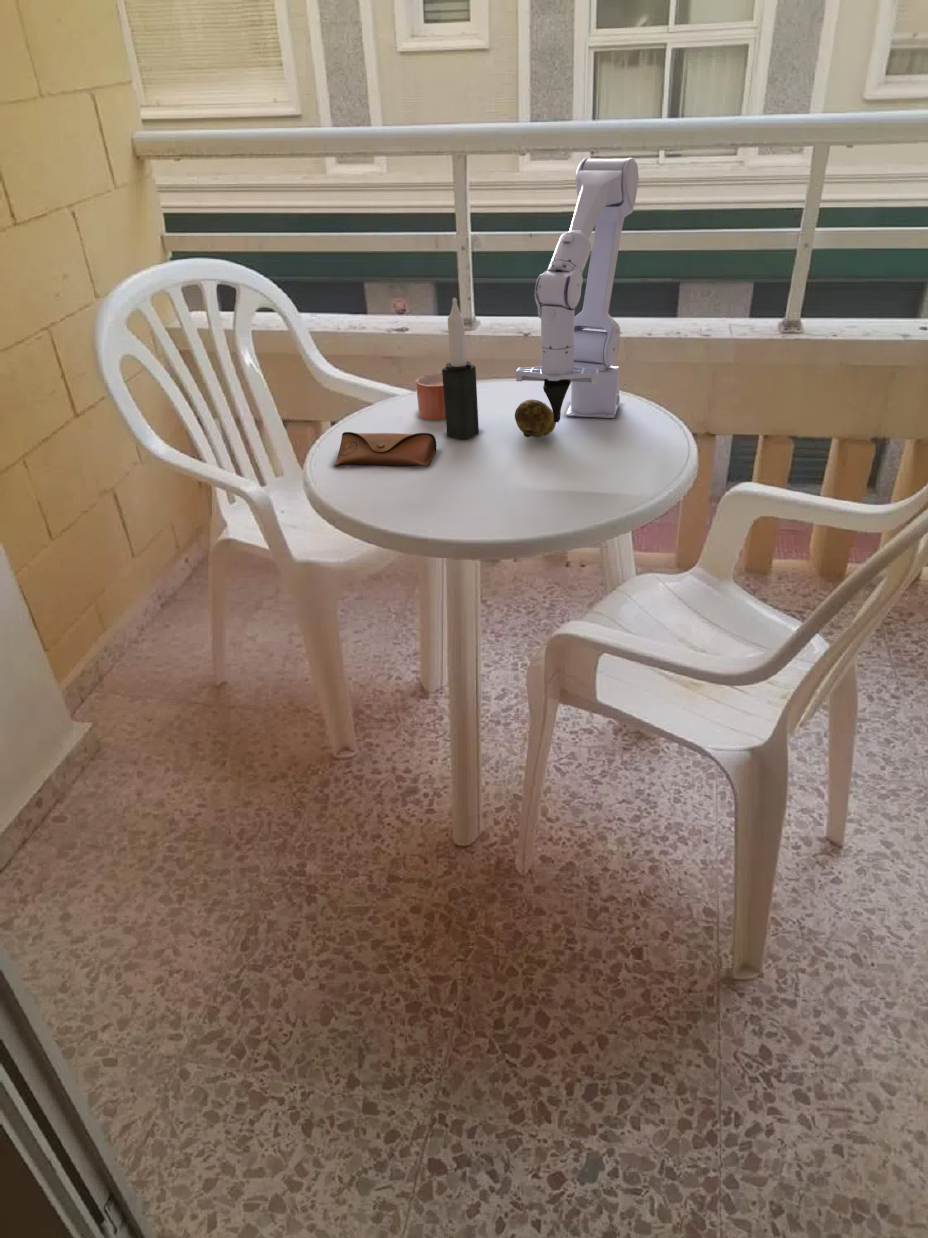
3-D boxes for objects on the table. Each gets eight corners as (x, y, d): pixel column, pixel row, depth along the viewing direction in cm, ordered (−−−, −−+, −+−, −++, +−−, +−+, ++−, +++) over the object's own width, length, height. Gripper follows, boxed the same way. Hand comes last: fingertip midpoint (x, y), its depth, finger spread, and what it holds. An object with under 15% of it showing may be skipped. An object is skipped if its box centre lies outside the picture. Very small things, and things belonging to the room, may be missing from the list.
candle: (465, 440, 155) (457, 302, 141) (444, 435, 158) (433, 299, 143) (481, 431, 158) (474, 296, 144) (460, 426, 161) (451, 293, 147)
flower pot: (462, 406, 170) (460, 373, 166) (451, 421, 164) (449, 386, 160) (425, 405, 172) (422, 372, 168) (413, 419, 166) (410, 385, 162)
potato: (571, 420, 157) (565, 380, 152) (548, 451, 148) (541, 409, 143) (531, 421, 161) (524, 382, 156) (506, 451, 152) (498, 410, 147)
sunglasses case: (331, 465, 148) (331, 428, 147) (342, 470, 155) (343, 434, 154) (429, 466, 145) (430, 427, 145) (436, 470, 152) (437, 434, 151)
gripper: (511, 350, 142) (513, 426, 149) (596, 352, 138) (593, 429, 146) (520, 339, 147) (521, 412, 155) (601, 340, 144) (598, 416, 151)
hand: (556, 420), depth 151 cm, fingers closed, pressing on potato
